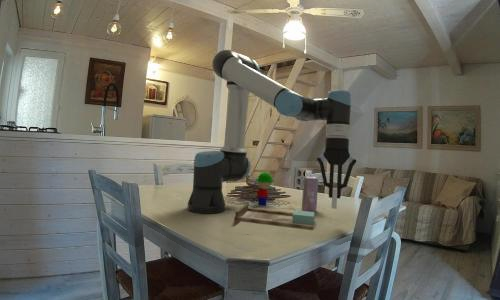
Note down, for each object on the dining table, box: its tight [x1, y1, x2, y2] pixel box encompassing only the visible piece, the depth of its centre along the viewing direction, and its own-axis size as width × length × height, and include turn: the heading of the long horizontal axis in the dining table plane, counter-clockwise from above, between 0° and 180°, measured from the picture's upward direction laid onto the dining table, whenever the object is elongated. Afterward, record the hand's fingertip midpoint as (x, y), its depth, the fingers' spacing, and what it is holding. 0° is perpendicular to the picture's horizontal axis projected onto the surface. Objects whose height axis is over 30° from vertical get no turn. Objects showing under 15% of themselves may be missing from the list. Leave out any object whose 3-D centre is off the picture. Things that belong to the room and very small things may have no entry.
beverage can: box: [301, 176, 319, 212], centre depth 122 cm, size 6×6×15 cm
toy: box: [255, 171, 275, 207], centre depth 131 cm, size 8×8×15 cm
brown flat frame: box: [233, 203, 314, 230], centre depth 104 cm, size 26×16×4 cm, turn 76°
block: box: [291, 209, 315, 227], centre depth 102 cm, size 7×7×3 cm
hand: (334, 207), depth 99 cm, fingers closed
